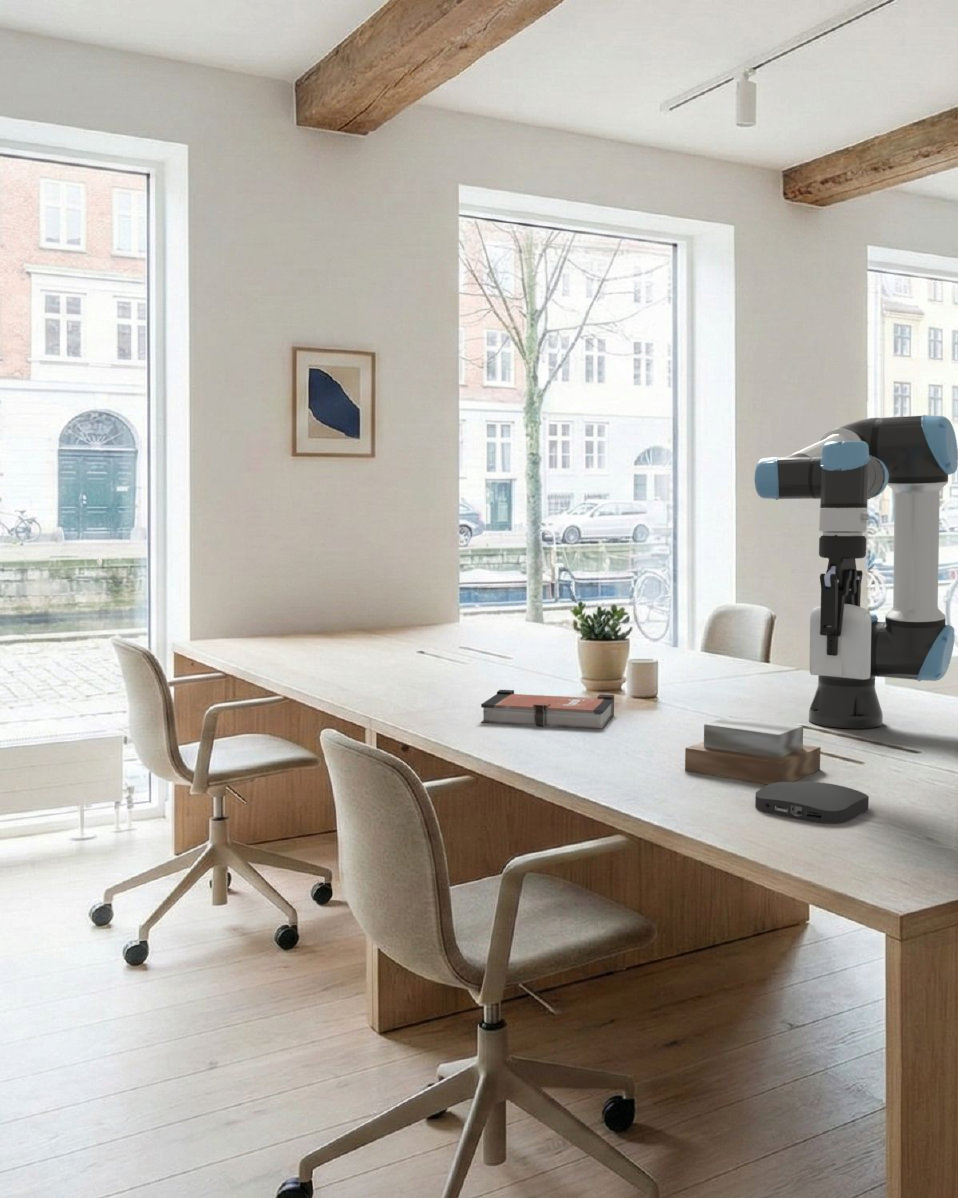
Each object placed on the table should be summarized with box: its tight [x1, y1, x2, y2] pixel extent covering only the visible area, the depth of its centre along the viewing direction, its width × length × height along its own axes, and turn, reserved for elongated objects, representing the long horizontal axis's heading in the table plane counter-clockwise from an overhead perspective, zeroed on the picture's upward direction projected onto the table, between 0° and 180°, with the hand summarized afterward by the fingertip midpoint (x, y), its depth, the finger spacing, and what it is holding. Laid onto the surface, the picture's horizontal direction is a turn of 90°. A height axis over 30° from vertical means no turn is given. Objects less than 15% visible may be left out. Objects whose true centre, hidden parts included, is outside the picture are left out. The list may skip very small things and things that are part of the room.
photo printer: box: [809, 604, 872, 679], centre depth 187 cm, size 10×4×12 cm, turn 48°
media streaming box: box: [754, 781, 870, 824], centre depth 171 cm, size 15×15×3 cm
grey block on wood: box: [684, 715, 822, 785], centre depth 196 cm, size 16×18×8 cm
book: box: [480, 689, 615, 730], centre depth 243 cm, size 26×18×5 cm
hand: (839, 672), depth 187 cm, fingers closed on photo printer, 4 cm apart
